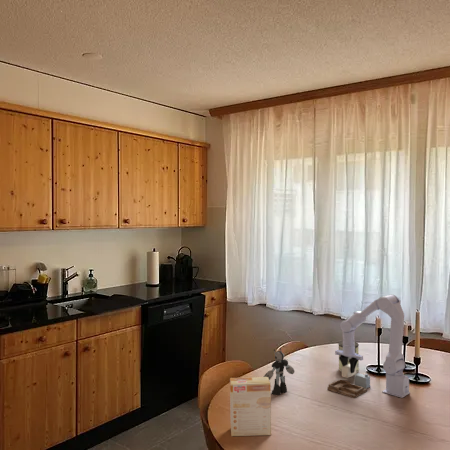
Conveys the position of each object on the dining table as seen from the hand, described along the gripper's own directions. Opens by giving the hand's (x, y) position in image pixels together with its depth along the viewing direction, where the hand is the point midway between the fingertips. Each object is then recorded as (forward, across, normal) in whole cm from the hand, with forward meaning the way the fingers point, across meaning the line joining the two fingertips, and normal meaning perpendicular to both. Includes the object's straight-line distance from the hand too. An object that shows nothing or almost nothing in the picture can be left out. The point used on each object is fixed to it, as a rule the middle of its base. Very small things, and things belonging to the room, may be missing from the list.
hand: (349, 371), depth 221 cm
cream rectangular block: (+2, 0, 0) cm, 2 cm away
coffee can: (+4, +8, -12) cm, 15 cm away
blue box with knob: (+4, -9, +3) cm, 10 cm away
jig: (+4, -7, +13) cm, 15 cm away
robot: (+4, +14, +37) cm, 40 cm away
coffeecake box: (+4, -3, +74) cm, 74 cm away
